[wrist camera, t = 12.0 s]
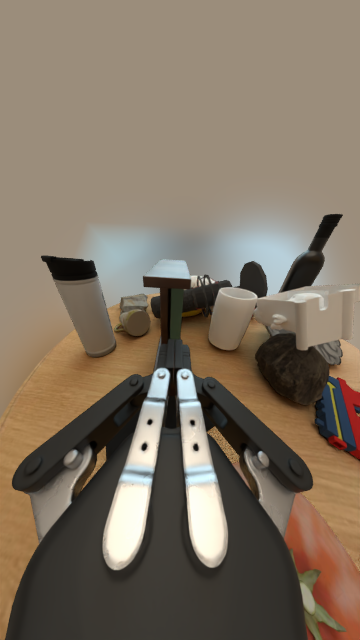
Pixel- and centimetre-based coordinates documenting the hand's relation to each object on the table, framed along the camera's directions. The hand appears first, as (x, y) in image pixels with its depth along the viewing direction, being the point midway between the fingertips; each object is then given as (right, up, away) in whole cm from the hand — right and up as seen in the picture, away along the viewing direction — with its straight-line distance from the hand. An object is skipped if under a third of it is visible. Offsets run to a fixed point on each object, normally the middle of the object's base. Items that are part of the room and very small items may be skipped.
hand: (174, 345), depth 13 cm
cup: (+12, -4, +21) cm, 25 cm away
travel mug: (-18, -4, +17) cm, 25 cm away
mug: (-14, 0, +24) cm, 28 cm away
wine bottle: (+34, +1, +31) cm, 46 cm away
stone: (-17, +6, +38) cm, 42 cm away
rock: (+21, -9, +13) cm, 26 cm away
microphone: (+22, +13, +24) cm, 35 cm away
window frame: (-2, -7, +14) cm, 16 cm away
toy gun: (+32, -15, +4) cm, 36 cm away
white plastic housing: (+21, +8, +9) cm, 24 cm away
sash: (0, -1, +13) cm, 13 cm away
